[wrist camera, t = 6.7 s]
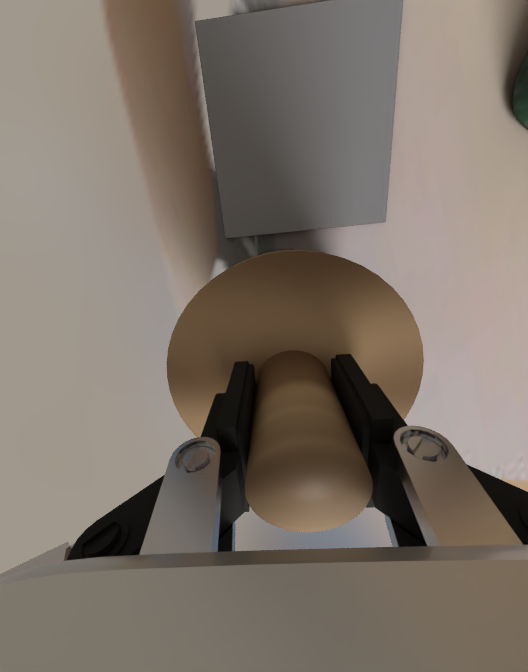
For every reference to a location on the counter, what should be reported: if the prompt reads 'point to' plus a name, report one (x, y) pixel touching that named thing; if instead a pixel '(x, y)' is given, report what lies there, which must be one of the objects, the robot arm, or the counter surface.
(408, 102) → the counter surface
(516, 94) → the coffee jar
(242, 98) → the mat
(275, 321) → the lid
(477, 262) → the counter surface
